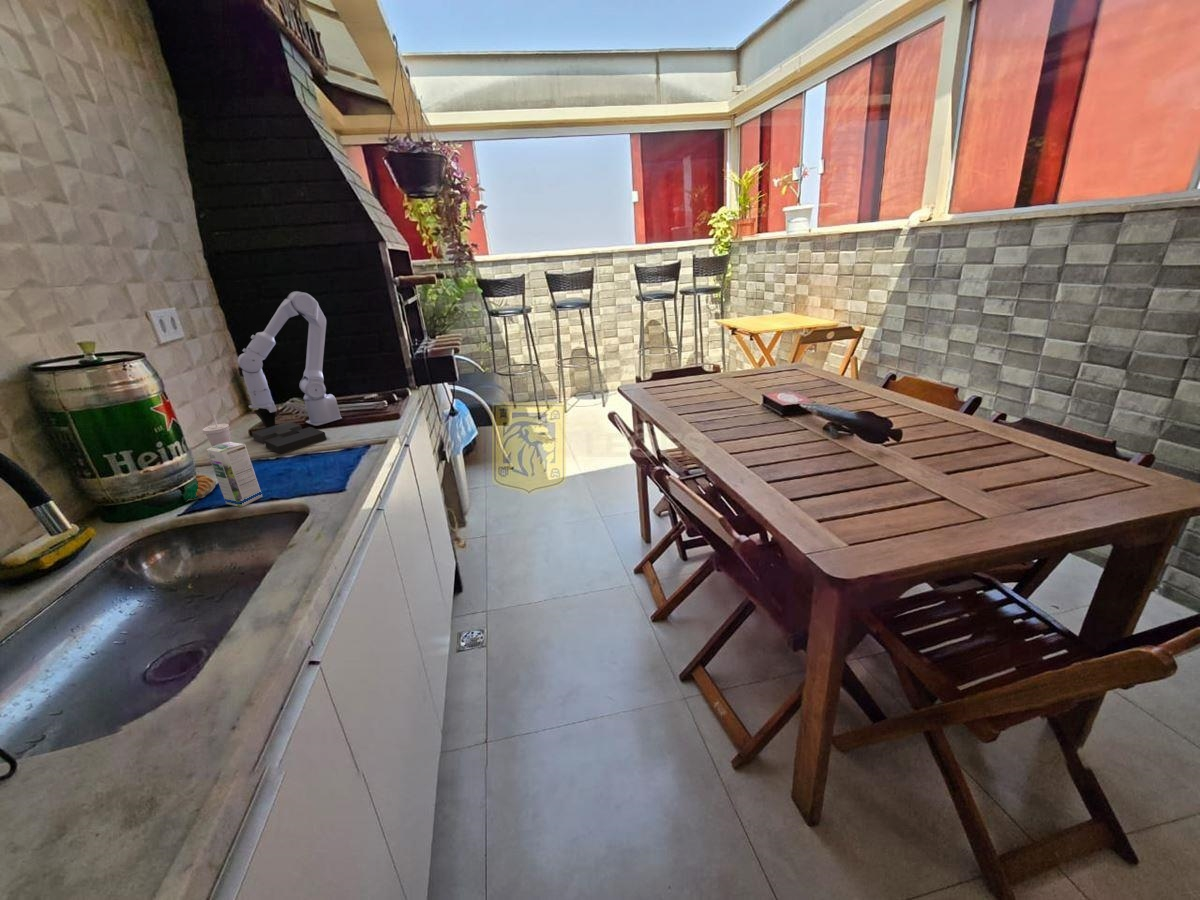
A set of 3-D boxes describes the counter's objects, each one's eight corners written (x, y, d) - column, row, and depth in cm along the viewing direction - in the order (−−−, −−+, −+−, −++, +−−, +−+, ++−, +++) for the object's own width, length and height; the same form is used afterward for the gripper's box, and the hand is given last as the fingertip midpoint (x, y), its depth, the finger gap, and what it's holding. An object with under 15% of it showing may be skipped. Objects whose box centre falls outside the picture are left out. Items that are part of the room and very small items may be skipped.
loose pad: (292, 428, 168) (290, 421, 168) (306, 433, 162) (304, 426, 161) (253, 439, 160) (251, 431, 159) (267, 445, 154) (265, 438, 153)
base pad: (312, 433, 162) (310, 426, 161) (326, 439, 157) (324, 432, 156) (266, 447, 152) (263, 440, 151) (280, 454, 146) (277, 446, 146)
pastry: (209, 499, 121) (204, 485, 119) (176, 506, 118) (170, 492, 117) (218, 484, 129) (213, 471, 127) (187, 490, 126) (181, 477, 125)
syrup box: (225, 504, 118) (203, 449, 112) (249, 493, 123) (229, 440, 117) (240, 508, 116) (219, 452, 110) (264, 496, 121) (245, 442, 115)
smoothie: (229, 461, 143) (212, 416, 137) (208, 462, 143) (190, 417, 138) (244, 452, 149) (229, 409, 143) (224, 453, 149) (207, 409, 144)
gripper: (236, 390, 160) (249, 428, 165) (253, 396, 152) (267, 436, 157) (260, 384, 165) (272, 422, 170) (278, 390, 157) (290, 430, 162)
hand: (271, 429), depth 164 cm, fingers closed
